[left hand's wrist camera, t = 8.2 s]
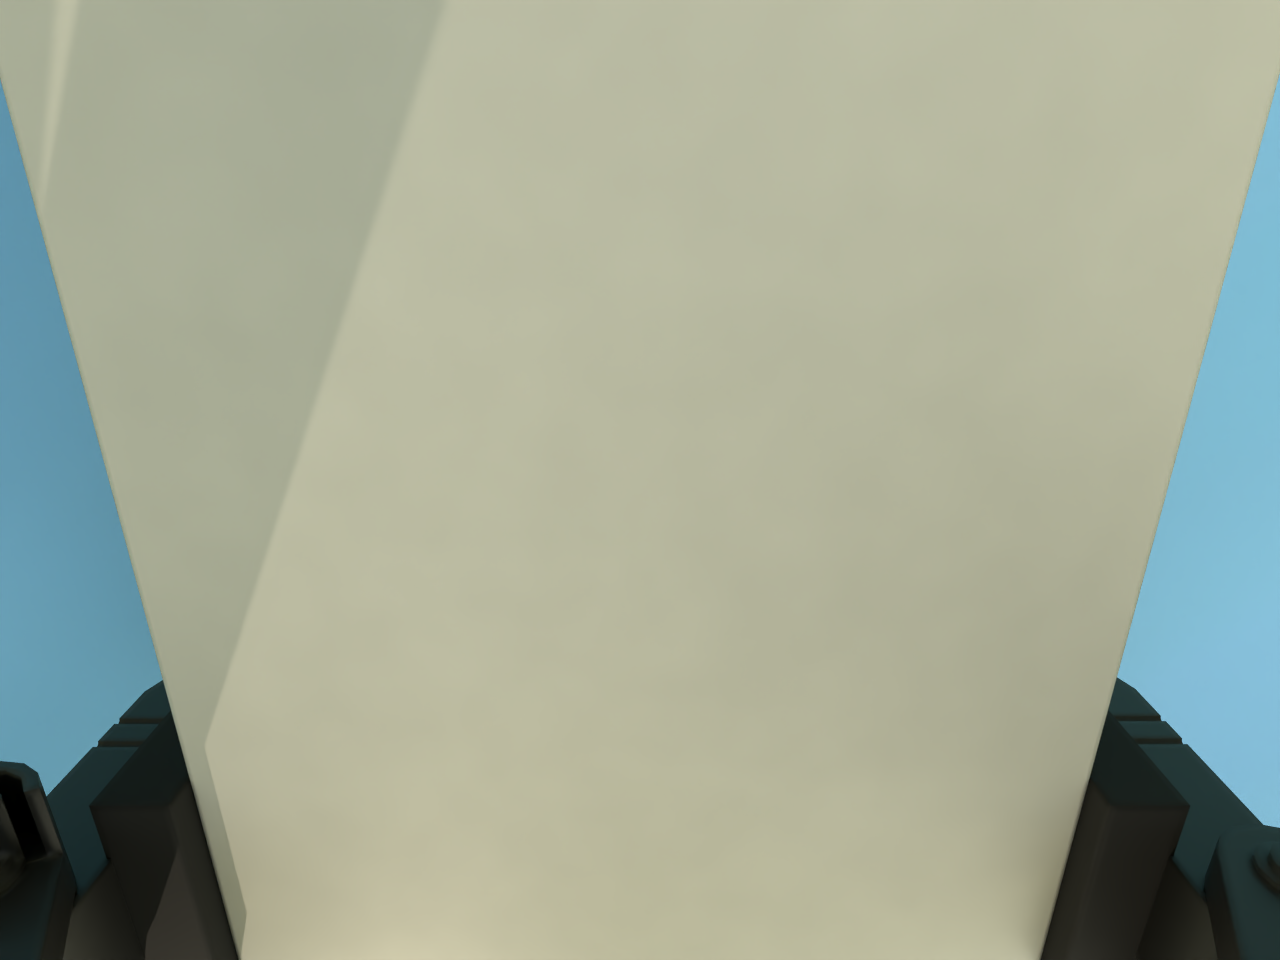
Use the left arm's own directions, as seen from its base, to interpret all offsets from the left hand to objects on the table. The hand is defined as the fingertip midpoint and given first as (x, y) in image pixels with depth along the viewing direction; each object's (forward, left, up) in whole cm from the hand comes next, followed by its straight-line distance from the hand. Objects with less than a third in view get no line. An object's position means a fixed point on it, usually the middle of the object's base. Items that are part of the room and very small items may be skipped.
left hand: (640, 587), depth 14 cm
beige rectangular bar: (+19, -22, 0) cm, 29 cm away
